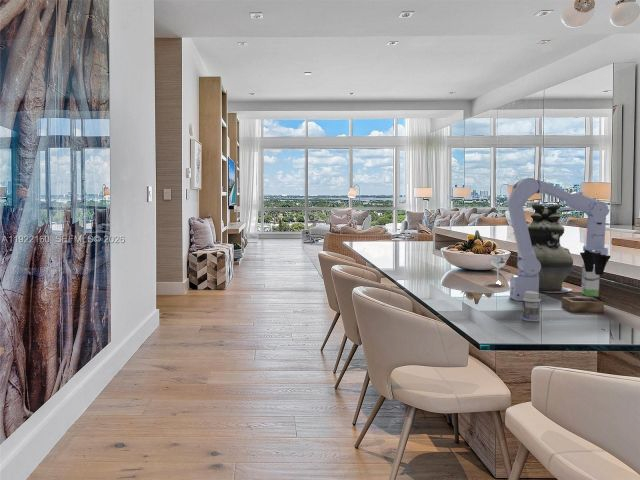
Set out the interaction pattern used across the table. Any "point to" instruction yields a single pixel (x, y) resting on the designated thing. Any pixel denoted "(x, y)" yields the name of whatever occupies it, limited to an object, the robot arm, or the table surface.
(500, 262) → the wineglass
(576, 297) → the lid
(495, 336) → the table surface
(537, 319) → the pill bottle
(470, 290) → the table surface
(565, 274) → the decorative urn
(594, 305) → the box
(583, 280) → the ink box
